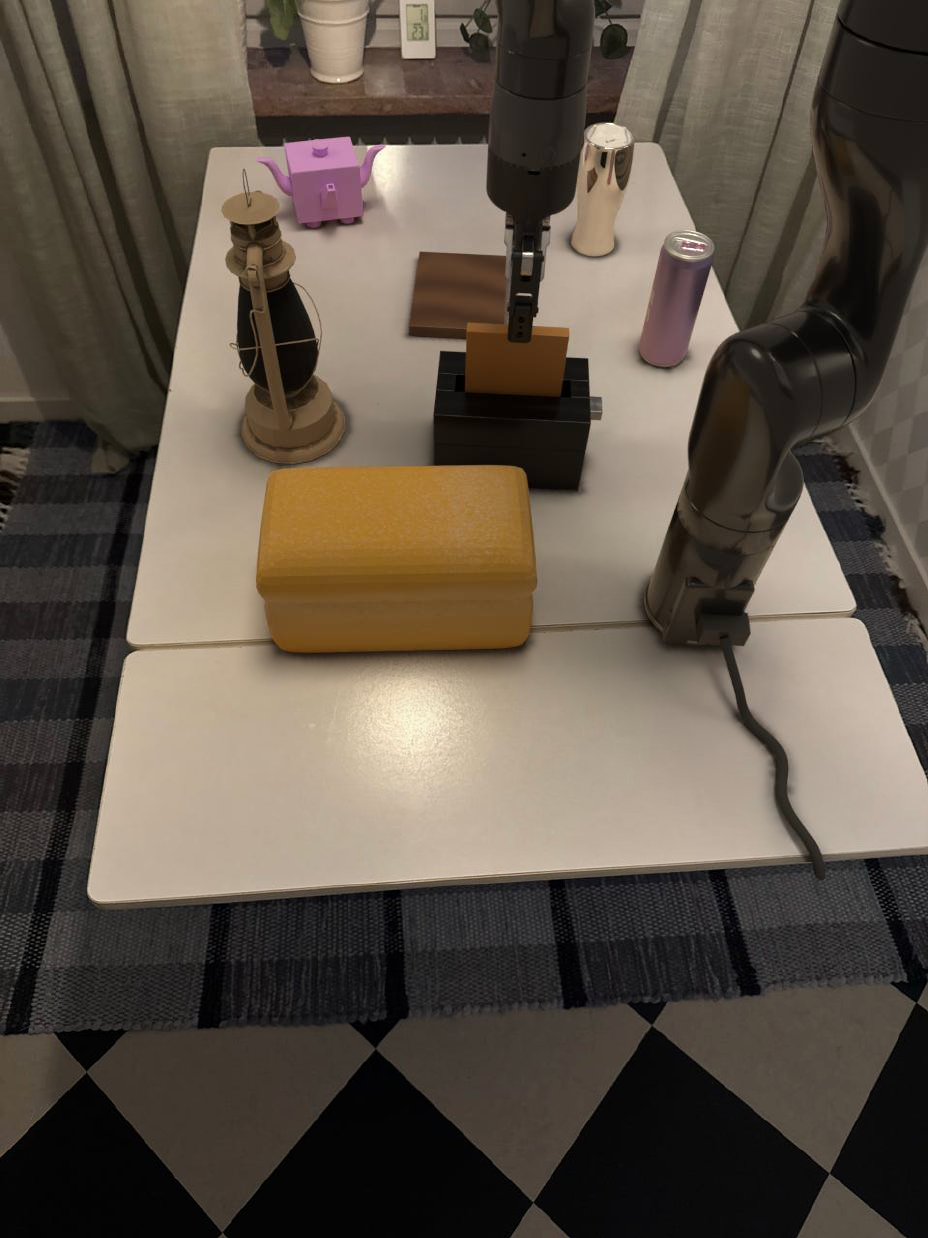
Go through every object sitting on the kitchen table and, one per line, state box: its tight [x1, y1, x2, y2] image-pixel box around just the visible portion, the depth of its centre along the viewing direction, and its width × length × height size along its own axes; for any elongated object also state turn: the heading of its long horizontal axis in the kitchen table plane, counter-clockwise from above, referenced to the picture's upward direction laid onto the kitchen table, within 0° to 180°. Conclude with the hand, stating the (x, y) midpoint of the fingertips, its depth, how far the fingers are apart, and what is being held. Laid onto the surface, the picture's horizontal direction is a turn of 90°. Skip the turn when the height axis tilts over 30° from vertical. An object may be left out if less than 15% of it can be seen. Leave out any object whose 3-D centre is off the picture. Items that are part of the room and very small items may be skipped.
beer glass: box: [570, 122, 636, 257], centre depth 114 cm, size 7×7×15 cm
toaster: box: [432, 350, 604, 491], centre depth 93 cm, size 10×18×10 cm, turn 87°
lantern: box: [220, 168, 346, 465], centre depth 87 cm, size 14×12×30 cm
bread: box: [255, 465, 538, 654], centre depth 80 cm, size 24×13×15 cm, turn 92°
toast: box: [465, 323, 570, 397], centre depth 88 cm, size 1×10×11 cm, turn 87°
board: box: [408, 251, 507, 339], centre depth 112 cm, size 16×12×2 cm
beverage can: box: [638, 229, 716, 368], centre depth 101 cm, size 6×6×15 cm
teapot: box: [254, 136, 387, 229], centre depth 119 cm, size 18×13×10 cm
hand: (519, 311), depth 82 cm, fingers open, 8 cm apart
